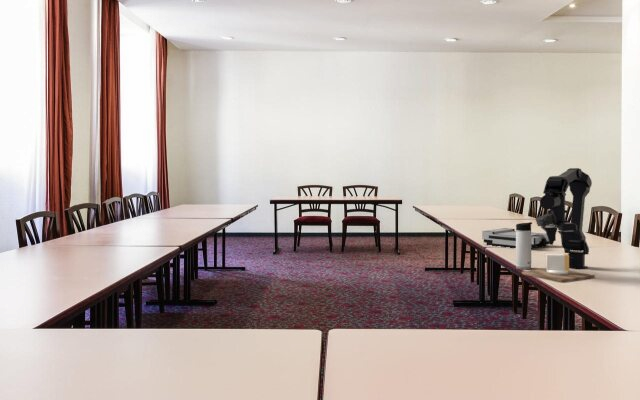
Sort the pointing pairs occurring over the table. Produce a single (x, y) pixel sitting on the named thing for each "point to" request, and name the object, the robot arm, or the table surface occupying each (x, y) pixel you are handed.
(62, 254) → the table surface
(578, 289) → the table surface
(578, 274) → the base plate
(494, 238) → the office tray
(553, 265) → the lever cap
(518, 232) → the travel mug
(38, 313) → the table surface
